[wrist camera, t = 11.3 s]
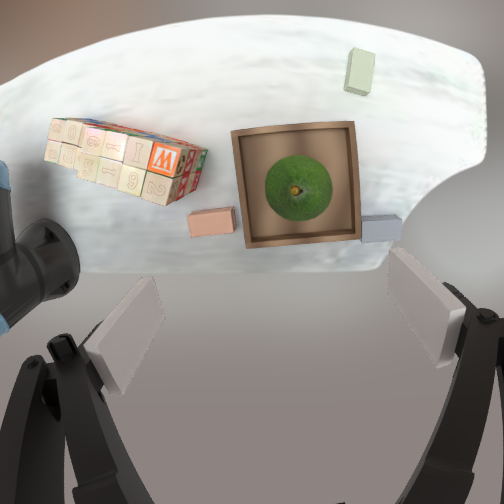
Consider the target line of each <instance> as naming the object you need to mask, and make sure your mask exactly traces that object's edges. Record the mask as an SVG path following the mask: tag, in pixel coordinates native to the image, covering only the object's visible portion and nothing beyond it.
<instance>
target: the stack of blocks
mask: <svg viewBox="0 0 504 504" xmlns="http://www.w3.org/2000/svg"><path fill="white" fill-rule="evenodd" d="M207 150H208V149H206V148H202V147H199V146H196V145H193V144H189V143H188V142H184V141H181V140H177V139H174V138H170V137H167V136H163V135H159V134H156V133H151V132H144V131H140V130H136V129H130V128H126V127H122V126H117V124H112V123H108V122H103V121H97V120H92V119H81V118H52V121H51V126H50V130H49V135H48V142H47V147H46V153H45V159H44V160H45V161H48V162H51V163H55V164H58V165H61V166H64V167H68V168H71V169H74V170H77V171H78V172H77V177H78V178H81V179H84V180H88V181H91V182H94V183H96V182H97V183H100V184H103V185H106V186H109V187H112V188H116V189H117V190H119V191H122V192H125V193H128V194H131V195H134V196H137V197H141V198H142V199H145V200H148V201H151V202H154V203H157V204H160V205H163V206H167V205H168V204H170V203H172V202H173V201H177V200H179V199H181V198H182V197H183V196H185V195H187V194H188V193H191V192H192V191H195V190H196V186H197V183H198V180H199V176H200V173H201V169H202V166H203V163H204V159H205V156H206V153H207Z"/></svg>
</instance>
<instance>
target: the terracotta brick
mask: <svg viewBox="0 0 504 504" xmlns="http://www.w3.org/2000/svg"><path fill="white" fill-rule="evenodd" d="M187 219H188V224H189V230H190V235H191V237H198V236H207V235H217V234H226V233H234V231H235V229H236V220H235V213H234V207H227V208H218V209H210V210H202V211H194V212H192V213H190V214H189V215H188V216H187Z"/></svg>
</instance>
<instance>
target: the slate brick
mask: <svg viewBox="0 0 504 504" xmlns="http://www.w3.org/2000/svg"><path fill="white" fill-rule="evenodd" d="M401 239H402V219H401V218H399V217H398V216H396V215H382V216H364V217H361V239H359V240H360V241H361V242H362V243H370V242H383V241H395V240H401Z"/></svg>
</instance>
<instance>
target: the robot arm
mask: <svg viewBox="0 0 504 504" xmlns="http://www.w3.org/2000/svg"><path fill="white" fill-rule="evenodd" d="M10 192H11V188H10V186H9V174H8V167H7V165H6V164H5V163H4V162H3V161H1V160H0V336H1V335H3V334H5V333H7V332H8V331H9V329H10V328H11V327H12V326H14V325H15V324H16V323H17V322H18V321H19V320H21V319H22V318H23V317H24V316H25V315H27V314H28V313H29V312H30V311H31V310H33V309H34V308H35V307H36V306H37V305H39V304H40V303H41V302H44V301H48V300H52V299H56V298H60V297H63V296H64V295H66V294H67V293H69V292H70V291H71V290H72V289H74V287H75V286H76V284H77V282H78V278H79V273H80V266H79V259H78V255H77V251H76V249H75V246H74V244H73V242H72V240H71V238H70V237H69V235H68V234H67V233H66V231H65V230H64V229H63V228H62V227H61V226H60V225H58V224H57V223H55V222H53V221H51V220H39V221H37V222H35V223H32V224H31V225H29V226H28V227H27V228H26V229H25V230H24V231H23V232H22V233H21V234H20V236H19V237H18V238H17V239H16V240H15V236H14V229H13V220H12V210H11V197H10ZM387 294H388V295H389V297H390V298H391V300H392V301H393V303H394V304H395V305H396V307H397V308H398V310H399V311H400V313H401V314H402V316H403V317H404V318H405V320H406V321H407V323H408V324H409V326H410V327H411V329H412V330H413V332H414V333H415V335H416V337H417V338H418V340H419V341H420V342H421V344H422V346H423V347H424V349H425V350H426V352H427V354H428V355H429V357H430V358H431V360H432V362H433V363H434V365H435V367H436V368H439V367H442V366H446V365H449V364H451V363H452V360H453V357H454V353H456V354H457V356H458V357H459V360H458V363H457V366H456V369H455V372H454V375H453V380H452V383H451V386H450V389H449V392H448V395H447V398H446V400H445V403H444V406H443V409H442V411H441V414H440V417H439V419H438V421H437V424H436V426H435V429H434V431H433V433H432V436H431V438H430V440H429V442H428V445H427V447H426V449H425V451H424V453H423V455H422V457H421V459H420V461H419V463H418V465H417V467H416V469H415V471H414V473H413V474H412V476H411V478H410V480H409V482H408V483H407V485H406V487H405V489H404V490H403V492H402V494H401V495H400V497H399V499H398V500H397V502H396V503H395V504H464V503H465V501H466V499H467V496H468V494H469V491H470V489H471V486H472V483H473V480H474V473H473V472H472V467H473V465H474V462H475V458H476V455H477V452H478V449H479V446H480V442H481V439H482V435H483V431H484V427H485V423H486V419H487V414H488V409H489V405H490V400H491V394H492V389H493V383H494V376H495V369H496V370H497V376H498V381H499V382H498V383H499V389H500V397H501V407H502V420H503V446H504V318H499V316H498V315H497V314H496V313H495V312H494V311H492V310H490V309H486V308H479V309H477V308H476V307H475V306H474V305H473V304H472V303H471V302H470V301H469V300H468V299H467V298H466V297H464V295H463V294H462V293H460V292H459V291H458V290H457V289H456V288H455V287H454V286H452V285H450V284H448V283H446V282H444V283H441V282H440V281H439V280H438V279H437V278H435V277H434V276H433V275H432V274H431V273H430V272H429V271H428V270H427V269H426V268H424V267H423V266H422V265H421V264H420V263H419V262H418V261H417V260H415V259H414V258H413V257H412V256H411V255H410V254H409V253H407V252H406V251H405V250H404V249H403V248H402V247H401V248H393V249H389V273H388V293H387ZM164 320H165V314H164V311H163V308H162V305H161V302H160V298H159V295H158V292H157V288H156V285H155V281H154V278H153V276H151V277H141V279H140V280H139V281H138V282H137V283H136V284H135V285H134V286H133V287H132V289H131V290H130V291H129V292H128V293H127V294H126V296H124V298H123V299H122V300H121V301H120V302H119V303H118V304H117V306H116V307H115V308H114V309H113V310H112V312H111V313H110V314H109V315H108V316H107V317H106V318H105V319H104V320H103V321H101V322H100V323H99V324H97V325H96V326H95V328H94V329H93V330H92V332H90V334H89V335H88V337H86V338H85V339H84V341H83V342H82V343H81V344H80V345H79V347H78V348H77V346H76V344H75V342H74V340H73V338H72V336H71V335H70V334H68V333H66V334H60V335H58V336H56V337H54V338H52V339H51V340H50V341H49V342H48V343H47V349H48V350H49V352H50V354H51V356H52V357H53V360H54V363H47V364H46V362H45V361H44V359H43V357H42V356H41V355H35V356H30V357H29V358H27V359H26V360H25V361H24V363H23V364H22V366H21V369H20V371H19V374H18V376H17V379H16V382H15V385H14V388H13V390H12V393H11V396H10V399H9V402H8V405H7V409H6V412H5V416H4V419H3V422H2V426H1V430H0V504H64V449H65V436H66V441H67V445H68V450H69V454H70V458H71V462H72V465H73V469H74V472H75V476H76V479H77V483H78V487H75V488H73V490H72V493H73V498H74V501H75V504H154V502H153V501H152V498H151V497H150V495H149V493H148V491H147V490H146V488H145V486H144V484H143V483H142V481H141V479H140V477H139V475H138V473H137V471H136V469H135V467H134V465H133V463H132V462H131V460H130V457H129V455H128V453H127V451H126V449H125V447H124V444H123V442H122V440H121V438H120V436H119V433H118V431H117V429H116V426H115V424H114V422H113V419H112V417H111V414H110V411H109V409H108V406H107V403H106V401H105V398H104V395H103V394H102V392H101V388H102V387H103V385H104V386H105V387H106V389H107V391H108V393H109V394H114V395H124V393H125V391H126V389H127V387H128V385H129V383H130V382H131V380H132V378H133V376H134V374H135V372H136V370H137V368H138V367H139V365H140V363H141V361H142V359H143V357H144V356H145V354H146V352H147V350H148V348H149V346H150V345H151V343H152V341H153V339H154V337H155V336H156V334H157V332H158V330H159V328H160V327H161V325H162V323H163V321H164ZM503 450H504V447H503ZM503 452H504V451H503ZM503 454H504V453H503ZM338 504H345V502H344V503H338ZM500 504H504V455H503V481H502V493H501V503H500Z"/></svg>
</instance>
